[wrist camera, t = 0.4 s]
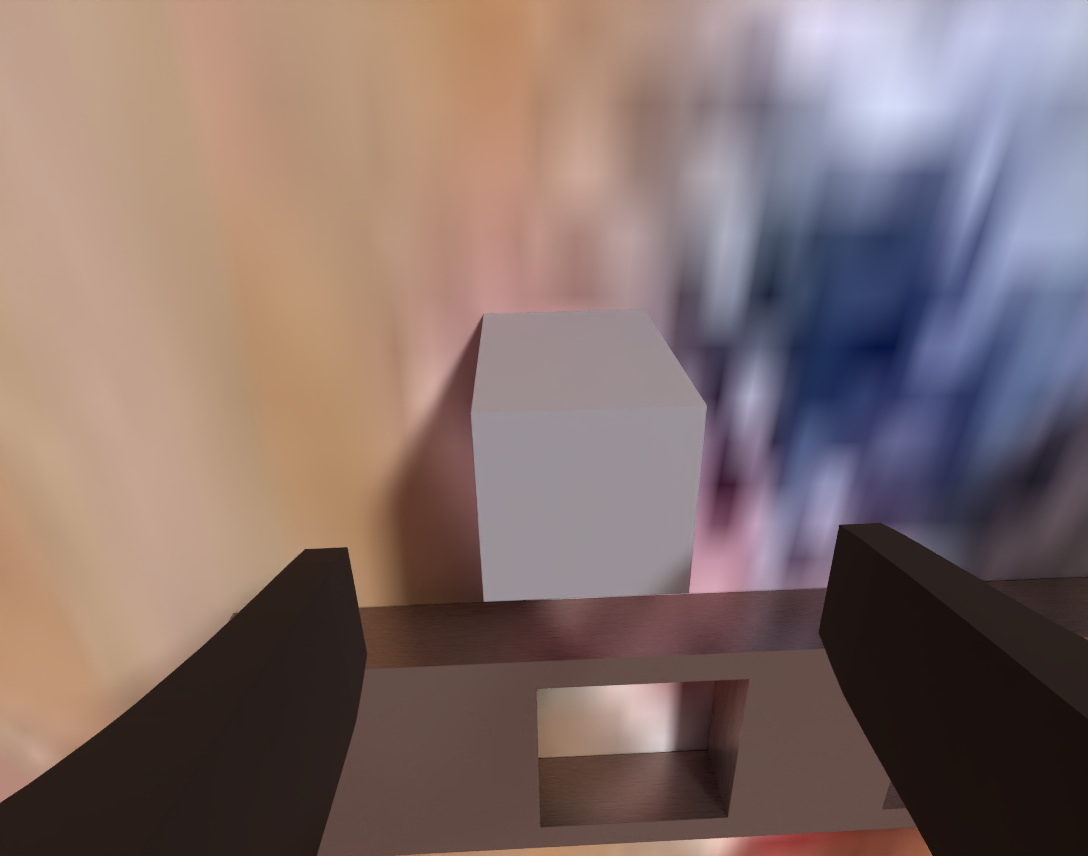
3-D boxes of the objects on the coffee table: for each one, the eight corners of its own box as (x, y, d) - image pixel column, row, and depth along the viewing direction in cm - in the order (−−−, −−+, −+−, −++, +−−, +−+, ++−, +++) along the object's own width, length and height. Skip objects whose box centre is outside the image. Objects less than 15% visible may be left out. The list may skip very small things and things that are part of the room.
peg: (644, 308, 17) (707, 405, 12) (637, 450, 19) (688, 593, 13) (483, 313, 17) (470, 413, 11) (491, 456, 19) (483, 601, 13)
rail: (1137, 575, 21) (1211, 631, 19) (1058, 751, 25) (1112, 816, 23) (233, 613, 20) (198, 677, 18) (282, 790, 24) (258, 862, 22)
